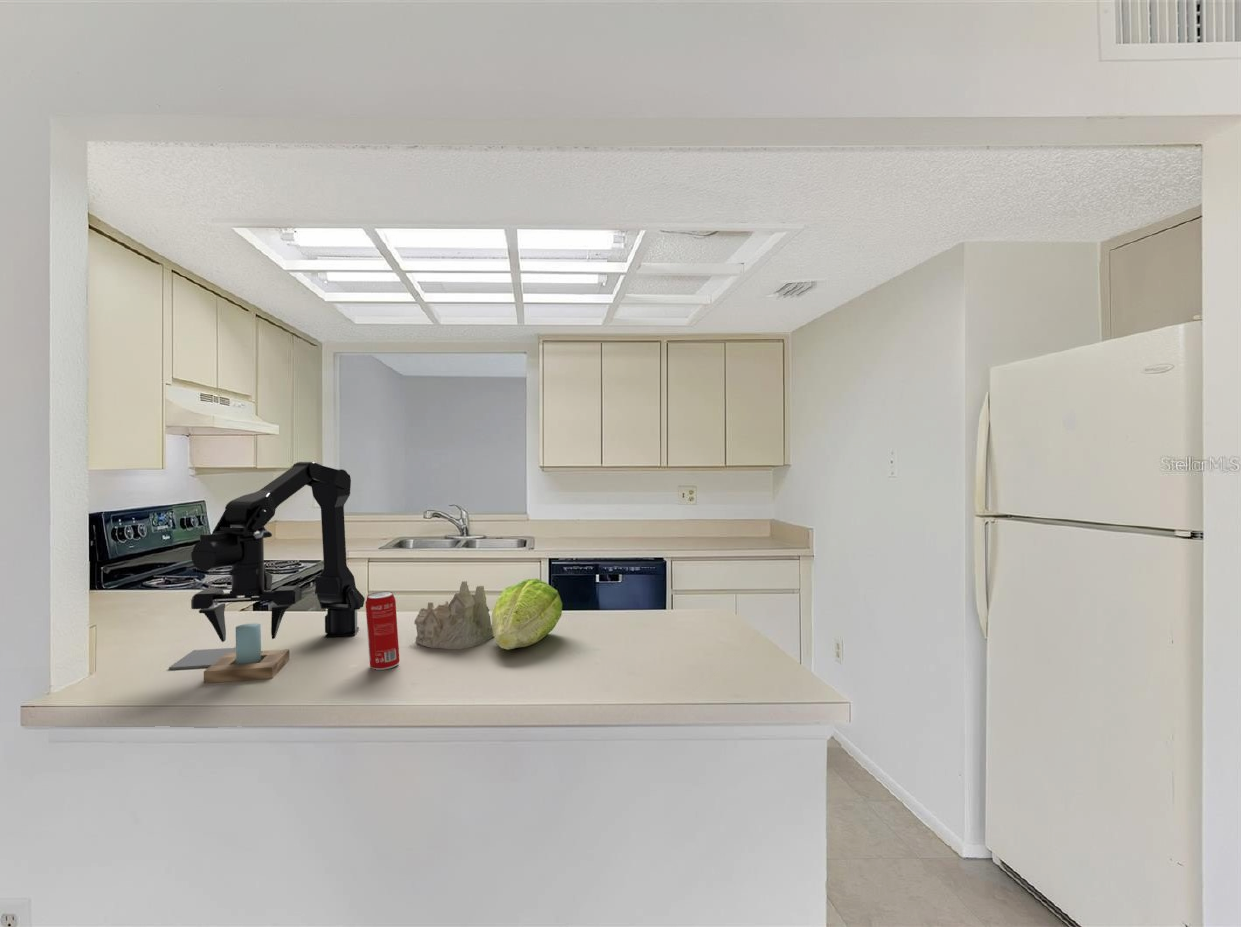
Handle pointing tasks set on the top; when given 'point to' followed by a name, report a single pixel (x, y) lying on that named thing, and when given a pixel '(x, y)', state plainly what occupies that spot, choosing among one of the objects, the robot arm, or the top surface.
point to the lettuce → (525, 613)
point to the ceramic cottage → (455, 621)
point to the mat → (201, 658)
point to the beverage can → (382, 630)
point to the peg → (248, 643)
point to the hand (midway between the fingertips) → (248, 639)
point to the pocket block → (246, 667)
